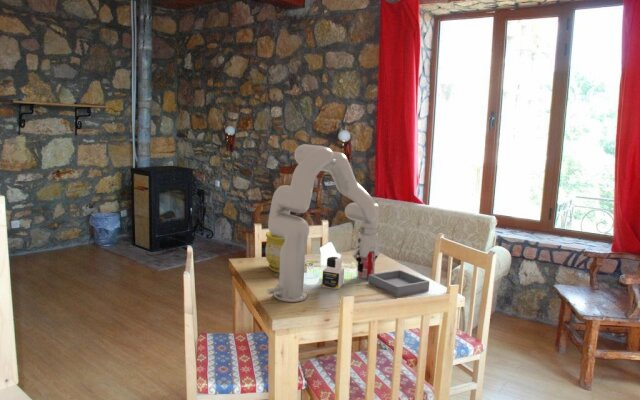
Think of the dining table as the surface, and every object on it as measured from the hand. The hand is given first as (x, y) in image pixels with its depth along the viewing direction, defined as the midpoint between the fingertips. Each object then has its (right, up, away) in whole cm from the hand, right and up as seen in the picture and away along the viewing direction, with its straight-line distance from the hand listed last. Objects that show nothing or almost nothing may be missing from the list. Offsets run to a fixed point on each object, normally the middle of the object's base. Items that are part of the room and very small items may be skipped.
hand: (365, 270), depth 228 cm
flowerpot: (-36, -1, +6) cm, 37 cm away
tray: (+13, -6, -9) cm, 17 cm away
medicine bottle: (-15, -5, -13) cm, 20 cm away
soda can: (0, -4, +1) cm, 4 cm away
